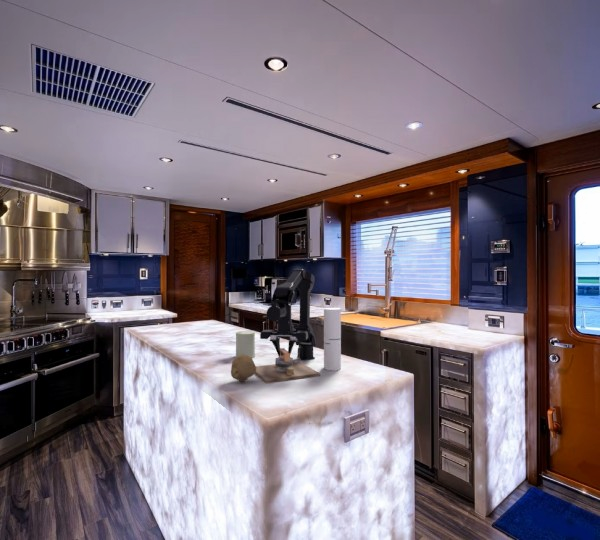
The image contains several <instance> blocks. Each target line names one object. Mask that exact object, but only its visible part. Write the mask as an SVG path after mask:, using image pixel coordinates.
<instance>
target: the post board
mask: <svg viewBox="0 0 600 540" xmlns="http://www.w3.org/2000/svg"><path fill="white" fill-rule="evenodd" d="M255 366H256V372H255V374H254V375H257V376H258V377H259V378H260V379H261V380H262V381H263V382H265V384H267V383H268V384H269V383H270V384H271V383H275V382H276V383H277V382H283V381H292V380H297V379H298V380H299V379H306V378H314V377H320V376H321V373H320V372H319V371H317V370H315V369H313V368H311V367H309V365H306V364H304V363H303V362H301V361H293V365H292V366H288V367H279V366H276V365H275V363H274V364H272V363H271V364H266V365H265V364H264V365H255Z"/></svg>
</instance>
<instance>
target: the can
mask: <svg viewBox="0 0 600 540" xmlns="http://www.w3.org/2000/svg"><path fill="white" fill-rule="evenodd" d="M255 340H256V332H255V331H252V330H241V331H236V332H235V357H236V356H238V355H242V354H246V355H248V356H250V357H251V358H252V359H253V358H255V357H256V347H255V344H256V341H255Z"/></svg>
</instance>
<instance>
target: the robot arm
mask: <svg viewBox="0 0 600 540" xmlns="http://www.w3.org/2000/svg"><path fill="white" fill-rule="evenodd" d="M315 279H316V278H315V276H314V274H312V273H311V272H309V271H307V270H305V269H303V268H294V269H293V271H292V273H291V274H290V275H289V277H288V278H287V279H286V281H285V282H284V283H280V284H279V285H277V286H276V287H275V288H274V290H273V294H272V298H271V300H270V304H271V306H269V307H268V308H267V310H266V317H267V318H268V320H269V321H272V322H276V329H277V330H276V331H274V330H273V329H264V330H262V331H261V332H260V333H259V339H260V340H268V339H269V342H271V343H272V345H273V346H274V348H275V350H276V353H277V356H278V357H279V356H280V348H281V344H280V341H281V340H280V339H281V338H289V340H288V348H287V349H288V350H287V351H288V352H289V353H290V355H291V354H292V350H293V347H294V345H295V346H298V348H297V358H298V359H299V360H302V361H306V360H314V359H316V357H315V356H314V347H315V346H317V339H316V337H315V334H314V328H313V327H312V325H311V323H310V322H311V314H310V313H311V312H310V310H311V292H312V290H313V288H314V285H315V281H316V280H315ZM296 288H297V290H298V291H299V324H298V325H297V327H295V324H294V323H293V322H292V306H293V303H292V302H293V299H294V298H295V295H296V293H295V290H296ZM294 327H295V329H294ZM294 330H295V332H294Z"/></svg>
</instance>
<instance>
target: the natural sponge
mask: <svg viewBox="0 0 600 540" xmlns="http://www.w3.org/2000/svg"><path fill="white" fill-rule="evenodd" d="M256 366H257V365H256V363H255V361H254V360H253V358H251V357H250V356H248V355H246V354H242V355H238V356H236V355H235V358H233V360H232V363H231V366H230V367H231V368H230V376H231V377H232V378H233V379H234V380H236V381H238V382H240V383H241V382H246V381H247V380H248V379H250V378H251V377H253V376H254V375H256V374H255V372H256Z"/></svg>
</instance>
